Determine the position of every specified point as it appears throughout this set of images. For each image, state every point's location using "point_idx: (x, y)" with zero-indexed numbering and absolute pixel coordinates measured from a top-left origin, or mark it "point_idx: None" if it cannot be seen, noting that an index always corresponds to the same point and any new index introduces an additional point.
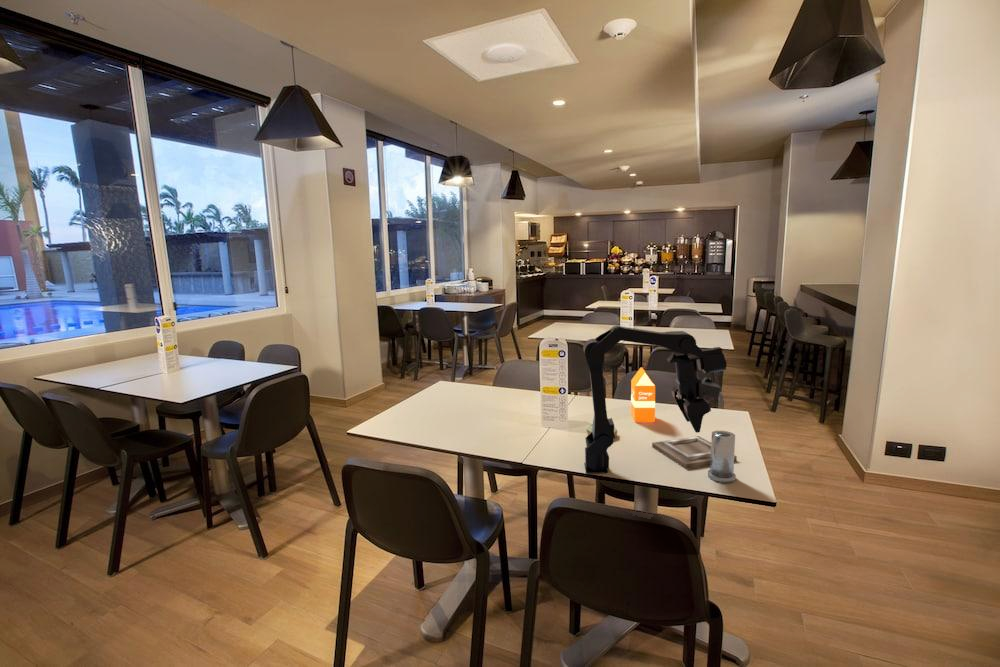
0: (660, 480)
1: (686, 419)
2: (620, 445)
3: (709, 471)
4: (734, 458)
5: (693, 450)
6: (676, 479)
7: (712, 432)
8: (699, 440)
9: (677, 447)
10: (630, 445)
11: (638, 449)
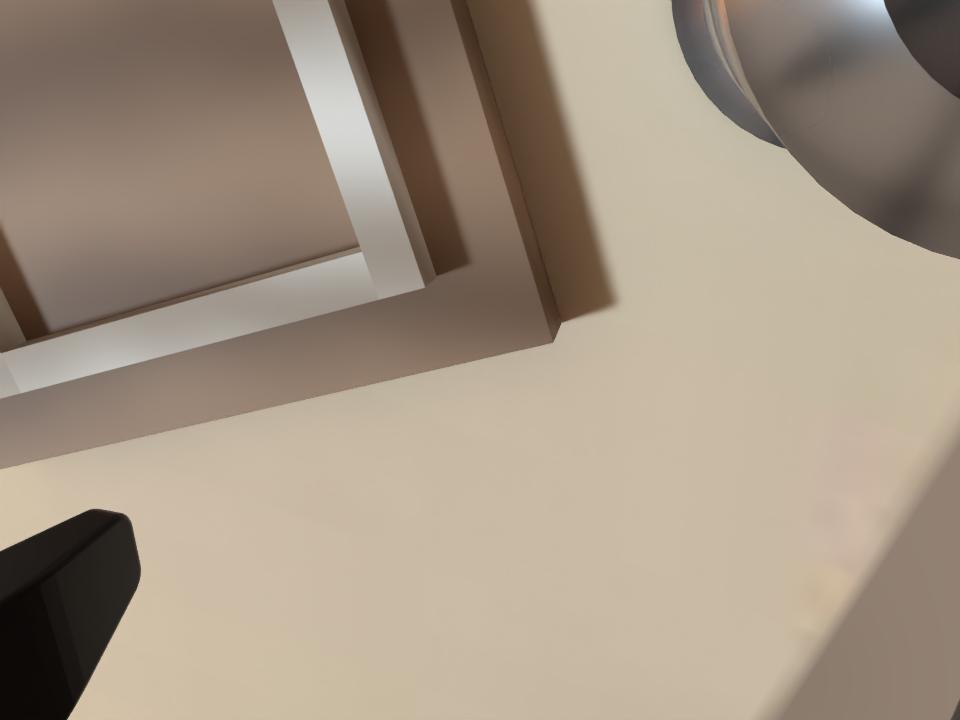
0: (807, 660)
1: (110, 631)
2: None
3: (760, 118)
4: None
5: (138, 90)
6: (809, 513)
7: (863, 198)
8: None
9: (73, 254)
10: None
11: None
